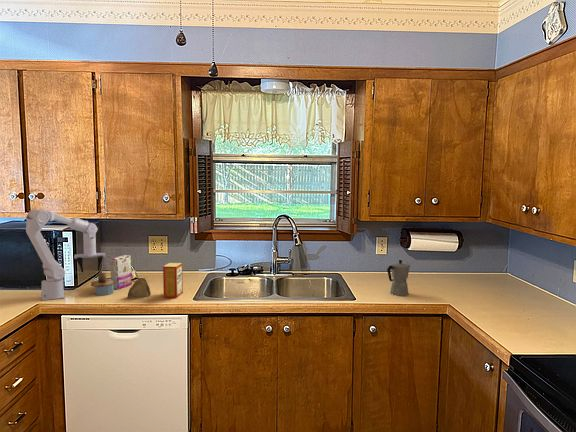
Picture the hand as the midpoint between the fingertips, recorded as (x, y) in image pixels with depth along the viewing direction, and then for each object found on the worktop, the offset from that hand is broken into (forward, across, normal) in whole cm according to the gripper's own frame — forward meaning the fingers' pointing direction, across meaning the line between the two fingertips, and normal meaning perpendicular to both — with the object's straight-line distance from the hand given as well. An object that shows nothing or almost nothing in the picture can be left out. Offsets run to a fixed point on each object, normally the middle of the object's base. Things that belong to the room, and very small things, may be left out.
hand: (90, 271), depth 218 cm
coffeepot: (+10, +148, -64) cm, 161 cm away
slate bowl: (+10, +7, -10) cm, 15 cm away
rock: (+10, +22, -21) cm, 33 cm away
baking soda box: (+10, +39, -25) cm, 47 cm away
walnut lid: (+6, +6, -8) cm, 12 cm away
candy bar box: (+10, +15, +1) cm, 18 cm away
